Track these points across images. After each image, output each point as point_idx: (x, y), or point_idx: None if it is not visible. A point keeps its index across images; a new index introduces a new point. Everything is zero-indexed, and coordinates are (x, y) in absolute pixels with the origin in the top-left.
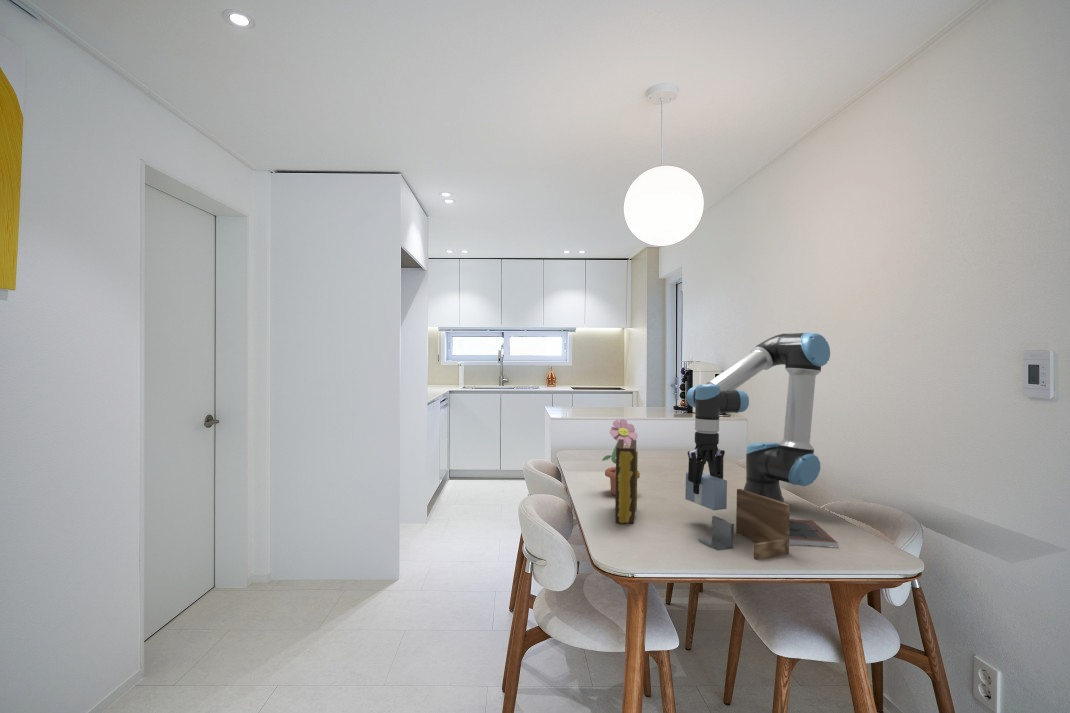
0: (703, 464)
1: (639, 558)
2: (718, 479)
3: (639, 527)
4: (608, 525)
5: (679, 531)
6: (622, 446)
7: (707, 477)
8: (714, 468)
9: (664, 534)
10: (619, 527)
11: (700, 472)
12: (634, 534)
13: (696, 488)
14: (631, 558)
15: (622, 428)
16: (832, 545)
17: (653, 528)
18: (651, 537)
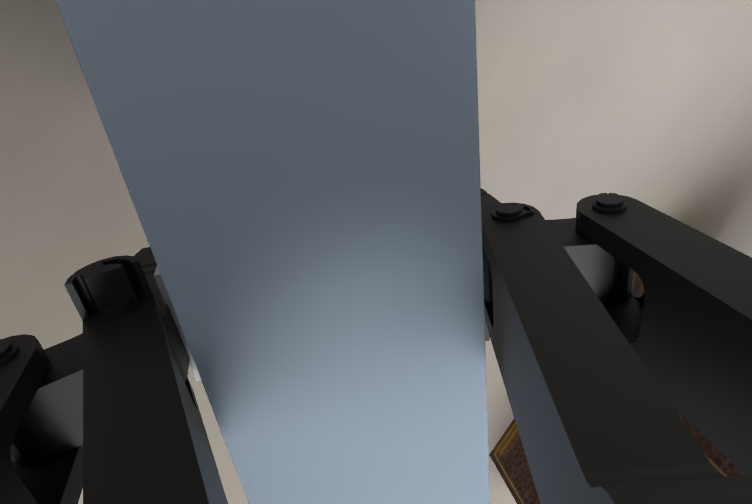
0: (632, 469)
1: None
2: (228, 64)
3: (643, 192)
4: (743, 239)
5: (488, 86)
6: None
7: (376, 271)
8: (164, 480)
9: (602, 50)
10: (723, 205)
11: (581, 305)
12: (737, 86)
13: (490, 199)
14: None
15: None
16: None
17: (591, 166)
18: (698, 14)
